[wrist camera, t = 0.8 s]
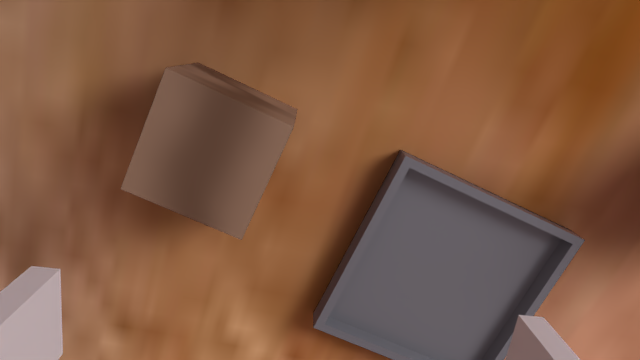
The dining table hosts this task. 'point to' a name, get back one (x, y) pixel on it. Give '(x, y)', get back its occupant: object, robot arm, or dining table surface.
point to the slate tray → (442, 269)
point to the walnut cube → (209, 147)
